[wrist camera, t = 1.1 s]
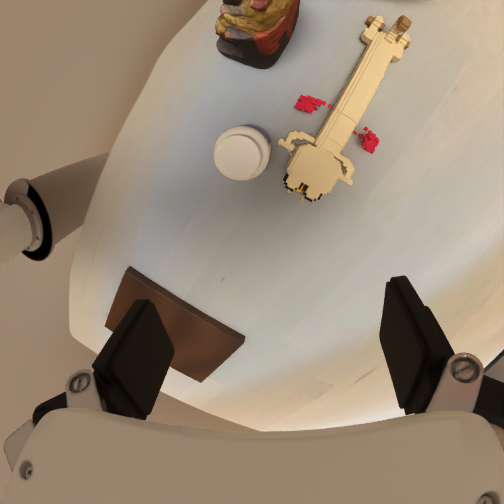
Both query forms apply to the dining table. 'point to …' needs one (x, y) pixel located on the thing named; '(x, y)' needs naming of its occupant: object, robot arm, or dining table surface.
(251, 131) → the pill bottle
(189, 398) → the dining table surface
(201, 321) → the board
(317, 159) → the axolotl toy
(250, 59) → the statue
